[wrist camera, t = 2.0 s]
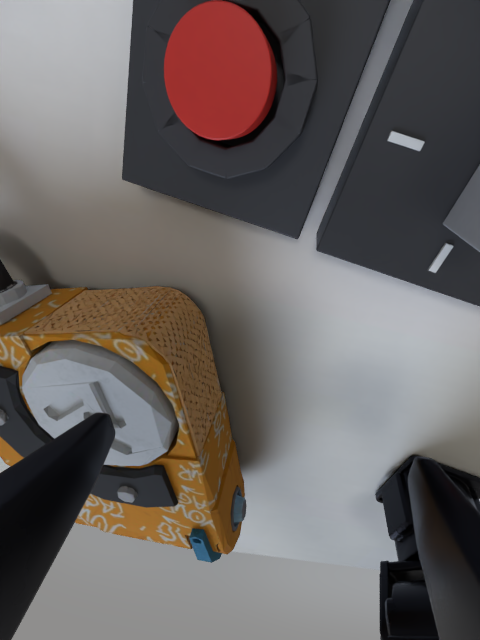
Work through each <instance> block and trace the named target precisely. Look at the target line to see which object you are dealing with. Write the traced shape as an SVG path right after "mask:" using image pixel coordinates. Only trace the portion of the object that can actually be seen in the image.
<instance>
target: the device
mask: <svg viewBox="0 0 480 640" xmlns="http://www.w3.org/2000/svg"><path fill="white" fill-rule="evenodd" d="M97 412H101V413H107V414H109V415H110V417H111V419H112V422H113V425H114V428H115V438H114V441H113V443H112V446H111V448H110V450H109V453H108V455H107V458H106V460H105V462H104V465H103V467H102V469H101V472H100V474H99V476H98V479H97V481H96V483H95V485H94V487H93V489H92V491H91V493H90V495H89V497H88V498H87V500H86V502H85V504H84V506H83V508H82V510H81V511H80V513H79V515H78V517H77V519H76V521H75V522H76V523H79V524H84V525H89V526H94V527H97V528H99V529H100V530H102V531H103V532H107V533H112V534H117V535H122V536H128V537H132V538H138V539H142V540H148V541H152V542H158V543H163V544H168V545H173V546H178V547H183V548H188V549H192V548H193V549H194V552H195V554H196V557H197V559H198V560H202V561H206V562H211V563H212V562H214V561H215V560H218V559H219V558H220V557H221V554H222V553H224V554H228V553H230V552H231V551H232V550H233V549H234V546H235V544H236V542H237V540H238V538H239V535H240V531H241V524H242V521H243V520H244V517H245V514H246V500H245V498H244V496H245V493H244V480H243V477H242V474H241V469H240V465H239V460H238V454H237V449H236V444H235V441H234V440H233V439H232V433H231V428H230V422H229V416H228V411H227V405H226V400H225V394H224V392H221V388H220V383H219V379H218V375H217V371H216V366H215V362H214V358H213V353H212V349H211V345H210V340H209V336H208V331H207V327H206V322H205V318H204V316H203V314H202V312H201V311H200V310H199V308H198V307H197V306H196V305H195V303H194V302H193V301H192V300H191V299H190V298H189V297H188V296H186V295H185V294H183V293H182V292H180V291H179V290H176V289H173V288H170V287H160V286H153V287H140V288H127V289H104V290H88V289H87V287H78V288H64V289H50V287H49V285H48V284H47V285H32V286H25V285H24V283H23V281H22V280H12V278H11V277H10V275H9V273H8V272H7V270H6V268H5V267H4V265H3V263H2V262H1V260H0V457H1V458H2V459H3V461H4V462H5V463H6V464H7V465H9V466H12V465H14V464H15V463H17V462H19V461H20V460H22V459H23V458H25V457H26V456H28V455H30V454H31V453H33V452H34V451H36V450H37V449H39V448H41V447H42V446H44V445H45V444H47V443H48V442H50V441H52V440H53V439H55V438H56V437H58V436H59V435H61V434H63V433H64V432H66V431H67V430H69V429H70V428H72V427H74V426H75V425H77V424H78V423H80V422H81V421H83V420H85V419H86V418H88V417H89V416H91V415H92V414H94V413H97Z"/></svg>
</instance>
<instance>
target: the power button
mask: <svg viewBox="0 0 480 640" xmlns="http://www.w3.org/2000/svg"><path fill="white" fill-rule="evenodd" d="M164 79H165V86H166V90H167V95H168V97H169V100H170V103H171V105H172V107H173V109H174V111H175V113H176V114H177V116H178V117H179V119H180V120H181V121H182V123H183V124H184V125H185V126H186V127H187V128H189V129H190V130H191V131H192V132H194V133H196V134H197V135H199V136H201V137H204V138H207V139H211V140H229V139H236V138H240V137H243V136H245V135H247V134H249V133H251V132H252V131H253V130H254V129H256V128H257V127H258V126H259V125H260V124H261V123H262V121H263V120H264V119H265V117H266V116H267V114H268V112H269V110H270V108H271V106H272V103H273V100H274V97H275V93H276V86H277V67H276V61H275V57H274V54H273V51H272V48H271V46H270V44H269V42H268V40H267V38H266V36H265V34H264V33H263V31H262V29H261V28H260V26H259V24H258V23H257V22H256V20H255V19H254V18H253V17H252V16H251V15H250V14H249V13H248V12H247V11H246V10H244V9H243V8H241V7H240V6H238V5H236V4H233V3H231V2H227V1H222V0H213V1H207V2H204V3H201V4H199V5H197V6H195V7H193V8H192V9H191V10H189V11H188V12H187V13H186V14H185V15H184V16H183V17H182V18H181V19H180V21H179V22H178V23H177V25H176V26H175V28H174V30H173V32H172V34H171V36H170V39H169V41H168V45H167V48H166V53H165V59H164Z"/></svg>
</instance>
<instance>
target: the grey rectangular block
mask: <svg viewBox="0 0 480 640" xmlns="http://www.w3.org/2000/svg"><path fill="white" fill-rule="evenodd" d="M443 225H444V226H446V227H447V228H448V229H450V230H451V231H452V232H454V233H455V234H456V235H458V236H459V237H460V238H462V239H463V240H464V241H466V242H467V243H468V244H470V245H471V246H472V247H474V248H475V249H476V250H477V251H479V252H480V165H479V166H478V168H477V170H476V171H475V173H474V174H473V176H472V178H471V179H470V181H469V182H468V184H467V186H466V187H465V189H464V190H463V192H462V193H461V195H460V197H459V198H458V200H457V201H456V203H455V205H454V206H453V208H452V209H451V211H450V213H449V214H448V216H447V217H446V219H445V221H444V222H443Z"/></svg>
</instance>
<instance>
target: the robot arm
mask: <svg viewBox="0 0 480 640" xmlns="http://www.w3.org/2000/svg"><path fill="white" fill-rule="evenodd" d="M114 438H115V428H114V425H113V422H112V419H111V417H110V415H109V414H107V413H101V412H97V413H94V414H92V415H91V416H89V417H88V418H86V419H85V420H83V421H81V422H80V423H78V424H77V425H75V426H74V427H72V428H70V429H69V430H67V431H66V432H64V433H63V434H61V435H59V436H58V437H56V438H55V439H53V440H52V441H50V442H48V443H47V444H45V445H44V446H42V447H41V448H39V449H37V450H36V451H34V452H33V453H31V454H30V455H28V456H26V457H25V458H23V459H22V460H20V461H19V462H17V463H15V464H14V465H12V466H11V467H9V468H8V469H6V470H4V471H3V472H1V473H0V640H11V639H12V637H13V635H14V634H15V632H16V630H17V628H18V626H19V625H20V623H21V621H22V619H23V617H24V615H25V613H26V612H27V610H28V608H29V606H30V604H31V602H32V600H33V599H34V597H35V595H36V593H37V591H38V589H39V587H40V586H41V584H42V582H43V580H44V578H45V576H46V574H47V572H48V571H49V569H50V567H51V565H52V563H53V562H54V559H55V558H56V556H57V554H58V552H59V550H60V549H61V547H62V545H63V543H64V541H65V539H66V537H67V536H68V534H69V532H70V530H71V528H72V526H73V524H74V523H75V521H76V519H77V517H78V515H79V513H80V511H81V510H82V508H83V506H84V504H85V502H86V500H87V498H88V497H89V495H90V493H91V491H92V489H93V487H94V485H95V483H96V481H97V479H98V476H99V474H100V472H101V469H102V467H103V465H104V462H105V460H106V458H107V455H108V453H109V450H110V448H111V446H112V443H113V441H114ZM375 495H376V500H377V501H378V502H381V503H383V505H384V510H385V516H386V522H387V527H388V533H389V536H390V538H391V539H392V540H395V545H396V550H397V556H398V561H397V562H389V561H381V563H380V634H381V638H380V639H381V640H480V501H479V499H480V478H478V477H475V476H472V475H469V474H467V473H464V472H461V471H458V470H455V469H453V468H450V467H447V466H444V465H441V464H439V463H436V461H434V460H433V459H431V458H426V457H419V456H412V457H410V458H409V459H408V460H407V461H406V462H405V463H404V464H403V465H402V466H401V467H400V468H399V469H398V470H397V472H396V473H395V474H394V475H393V476H392V477H391V478H390V479H389V480H388V481H387V482H386V483H385V484H384V485H383V486H382V487H381V488H380V489H379V490H378V491H377V492H376V494H375Z"/></svg>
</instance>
